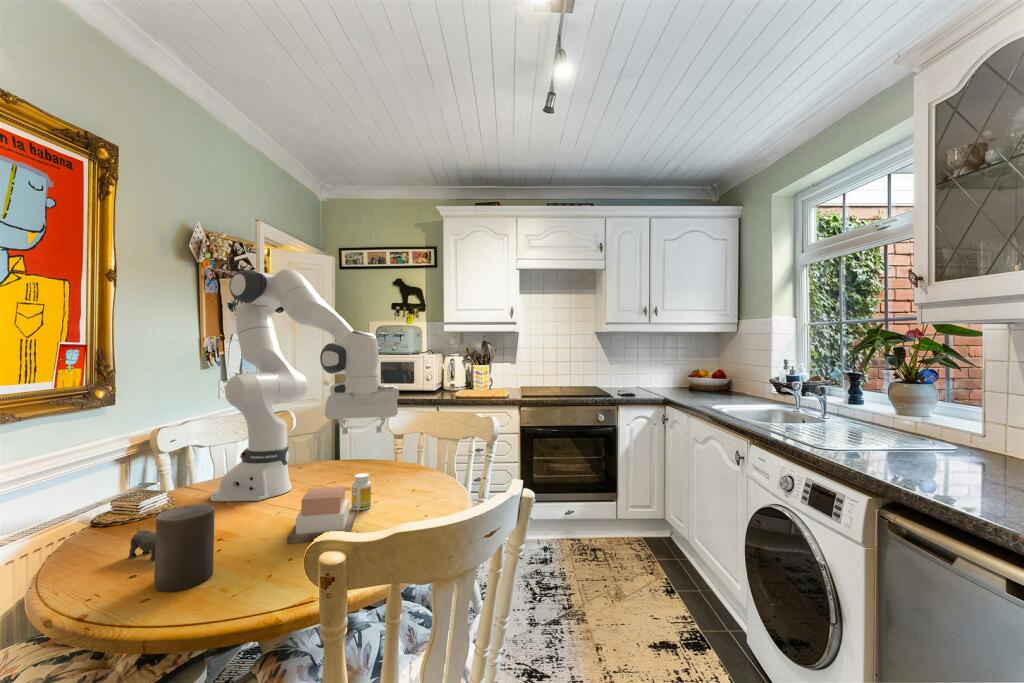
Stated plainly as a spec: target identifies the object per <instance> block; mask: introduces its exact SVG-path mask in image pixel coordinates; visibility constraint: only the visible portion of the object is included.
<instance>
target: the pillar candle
mask: <svg viewBox="0 0 1024 683" xmlns="http://www.w3.org/2000/svg"><path fill="white" fill-rule="evenodd" d="M155 518H156V519H155V532H156V544H155V561H154V573H153V574H154V576H153V577H154V578H153V580H154V581H153V582H154V583H153V584H154V589H155V590H156V591H159V592H164V593H165V592H166V593H168V592H169V593H172V592H179V591H183V590H187V589H191V588H194V587H196V586H197V587H198V586H199V585H201V584H203V583H205V582H206V581H208V580H209V579H211V577H212V576H213V575H214V560H215V559H214V556H215V553H214V552H215V506H214V505H213V504H207V503H197V504H190V505H189V504H188V505H186V504H185V505H183V506H178V507H174V508H170V509H167V510H163V511H161V512H159V514H157V515H156V517H155Z"/></svg>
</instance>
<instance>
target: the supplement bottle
mask: <svg viewBox="0 0 1024 683" xmlns="http://www.w3.org/2000/svg"><path fill="white" fill-rule="evenodd" d="M369 480H370V474H369V473H363V472H362V473H357V474H355V475H354V482H352V485H351V509H352V510H353V511H355V510H357V511H356V512H360V511H359V510H363V511H366V510H365V509H367V510H369V509H370V508H371V506H372V483H371V481H369ZM368 508H369V509H368Z"/></svg>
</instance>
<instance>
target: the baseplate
mask: <svg viewBox="0 0 1024 683" xmlns="http://www.w3.org/2000/svg"><path fill="white" fill-rule="evenodd" d="M355 520H356V511H349V515H348V518H347V522H346V525H345V528H344V530H340V531H345V532H351V533H352V530H353V526H354V523H355ZM328 532H329V531H328ZM323 533H325V532H317V533H305V534H296V523H295V525H294V526H293V528H292V530H291V531H290V533H289V534H288V536H287V540H286V541H287V544H288V545H289V544H298V543H309V542H314V541H313V540H314V539H315V538H317V537H318V536H320V535H322V534H323Z"/></svg>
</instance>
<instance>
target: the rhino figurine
mask: <svg viewBox="0 0 1024 683" xmlns="http://www.w3.org/2000/svg"><path fill="white" fill-rule="evenodd" d="M155 544H156V531H152V530H150V529H149V530H148V529H140V530H138V531H137V532H135V534H134V535H133V536H132V538H131V539H130V549H129V555H128V557H127V558H128V559H134V558H136V557H137V554H136V550H137V549H138V548H139V549H140V550H141V551H142V553H141V554H142V555H144V556H147V555H150V554H151V555H150V557H149V562H155Z"/></svg>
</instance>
